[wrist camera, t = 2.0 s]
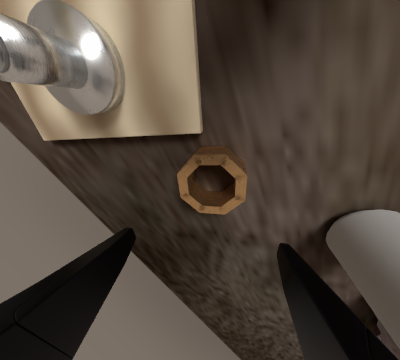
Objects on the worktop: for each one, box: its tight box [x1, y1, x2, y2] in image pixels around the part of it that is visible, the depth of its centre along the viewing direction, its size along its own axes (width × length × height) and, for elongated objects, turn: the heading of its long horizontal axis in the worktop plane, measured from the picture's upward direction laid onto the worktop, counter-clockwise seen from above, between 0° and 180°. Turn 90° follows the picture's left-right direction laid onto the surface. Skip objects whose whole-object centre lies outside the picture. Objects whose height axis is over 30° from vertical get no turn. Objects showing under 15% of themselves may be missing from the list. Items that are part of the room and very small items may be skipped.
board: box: [0, 0, 203, 141], centre depth 13 cm, size 20×14×1 cm
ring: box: [177, 146, 247, 214], centre depth 15 cm, size 7×7×3 cm
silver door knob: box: [0, 0, 125, 115], centre depth 10 cm, size 7×7×6 cm
